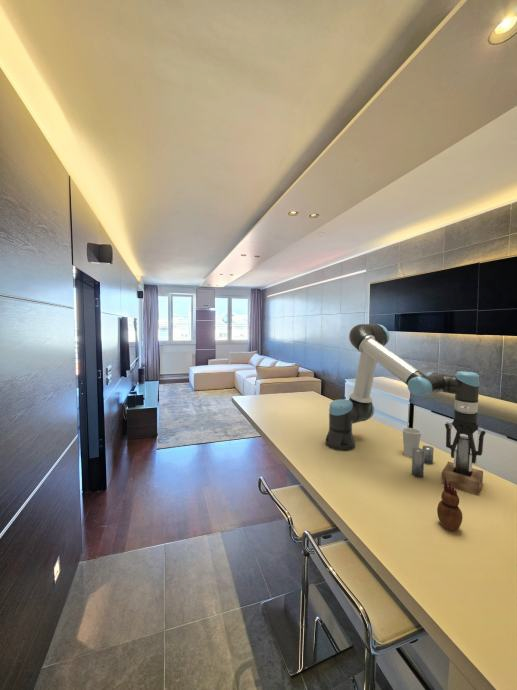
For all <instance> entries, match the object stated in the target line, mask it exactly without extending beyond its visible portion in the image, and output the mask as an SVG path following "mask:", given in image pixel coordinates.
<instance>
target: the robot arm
mask: <svg viewBox="0 0 517 690" xmlns="http://www.w3.org/2000/svg"><path fill="white" fill-rule="evenodd" d="M348 338H349V342H350V344H351V345H352V347H354V348H355V349H356V350H357V351H358V352H360V355H359V360H358V366H357V371H356V376H355V381H354V387H353V392H352V393H351V394H349V398H348V399H345V398H341V399H335V400H333V401H331V402H330V403H329V408H328V412H329V413H328V419H329V423H328V425H329V426H328V432H327V434H326V438H325V446H326V447H328V448H329V449H332V450H336V451H340V452H341V451H343V452H347V451H351V450H354V449H355V448H356V440H355V438H354V435H353V424H357V423H361V422H365V421H367V420H370V419H372V417H373V416H374V414H375V406H374V404H373V400H372V398H371V391H372V388H373V382H374V377H375V372H376V367H377V363H378V364H379V365H380V366H381V367H383V368H384V369H386V370H387V371H388V372H390V374H392V375H394V377H396V378H398V380H400V381H401V382H403V383H404V384H405V385H407V390H408V391H409V393H410V394H411V395H413V396H415V397H427V396H429V395H433V394H438V393H446V394H451V395H454V409H455V410H453V412H454V413H453V421H452V422H446V423H445V424H444V426H445V427H444V428H445V430H446V433H445V448H447V449H450V458H452V459H453V463H454V466H453V467H456V459H457V442H458V438H459V437H460V436H461V435H465V436H467V437H468V438H469V440H470V441H469V443H470V447H471V450H470V456H469V471H470V472H471V471H472V468H473V464H476V463H477V456H482V454H483V451H484V450H483V449H484V438H485V437H484V436H485V435H486V433H487V430H486V429H483V428H480V427H479V425H478V411H479V410H478V409H479V394H480V384H481V383H480V375H479V374H478V373H477V372H472V371H461V370H460V371H456V374H455V375H452V374H445V373H440V372H439V373H438V372H427V373H426V374H424V373H423V372H422V371H421V370H419V369H417V368H416V367H414V366H413V365H411V364H410V363H408V362H407V361H406V360H404V359H403V358H401V357H400V356H398V355H397V354H396V353H394V352H393V351H391V350H390V349H389V348H387V347H386V345H388V342H389V341H390V333H389V331H388V329H387V328H386V326H384V325H382V324H379V323H366V324H364V323H360V324H357V325H355V326H353V327H352V328H351V329H350V331H349V334H348ZM452 428H454V429H455V431H456V433H455V436H454V439H453V442H452V441H451V440H452ZM476 431H477V432H478V435H479V436H478V447H477V448H476V443H475V438H474V433H475V432H476Z"/></svg>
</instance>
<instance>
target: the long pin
mask: <svg viewBox="0 0 517 690" xmlns="http://www.w3.org/2000/svg"><path fill="white" fill-rule="evenodd" d="M469 441H470V440H469V438H468V436H466V435H465V436H464V435H460V437H459V438H458V442H457V446H456V449H457V459H456V473H459V474H462V475H466V476H469V456H470V453H471V447H470V443H469Z"/></svg>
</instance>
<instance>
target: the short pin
mask: <svg viewBox="0 0 517 690" xmlns="http://www.w3.org/2000/svg"><path fill="white" fill-rule="evenodd" d="M422 449H423V450H424V451H425V452H424V465H425V464H426V465H433V464H434V451H435V450H434V447H432V446H430V445H423V446H422Z"/></svg>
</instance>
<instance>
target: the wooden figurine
mask: <svg viewBox="0 0 517 690" xmlns="http://www.w3.org/2000/svg"><path fill="white" fill-rule="evenodd" d="M440 495H441V499H440V501H439V502H438V504H437V508H436V512H437V518H438V520H439V522H440V524H441V525H442V527H444V528H445V529H447V530H449V531H456V530H459V529H460V527H461V525H462V522H463V513H462V510H461V508H460V507H459V504H460V497H459V495H458V492H457V489H455V488H454V486H452V487H451V482H449V485H447V481H446V478H444V484H443V491H442V492H441V494H440Z"/></svg>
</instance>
